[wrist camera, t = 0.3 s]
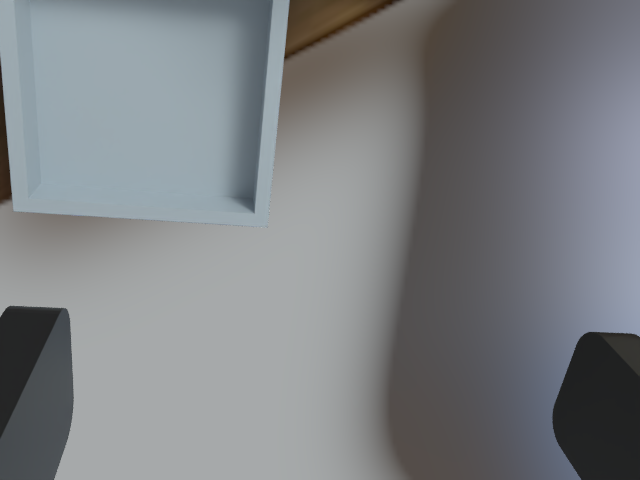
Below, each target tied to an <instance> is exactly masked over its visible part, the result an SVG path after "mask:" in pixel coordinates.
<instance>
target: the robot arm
mask: <svg viewBox="0 0 640 480" xmlns="http://www.w3.org/2000/svg"><path fill="white" fill-rule="evenodd" d="M73 398H74V397H73V373H72V353H71V332H70V318H69V314H68V311H67V309H66V308H46V307H24V306H9V307H7V308H6V310H5V311H4V312H3V314H2V315H1V317H0V480H54V478H55V475H56V472H57V469H58V466H59V463H60V460H61V457H62V454H63V451H64V448H65V445H66V442H67V439H68V435H69V431H70V426H71V420H72V413H73ZM553 429H554V433H555V437H556V440H557V442H558V444H559V446H560V447H561V449H562V450H563V452H564V454H565V455H566V457H567V458H568V460H569V461H570V463H571V464H572V466H573V467H574V469H575V470H576V472H577V474H578V475H579V477H580V478H581V480H640V337H639V336H637V335H635V334H628V333H626V334H625V333H604V332H588V333H586V334H584V335H583V336H582V337H581V338H580V339H579V341H578V343H577V345H576V348H575V350H574V353H573V356H572V359H571V361H570V364H569V367H568V369H567V372H566V375H565V378H564V380H563V383H562V386H561V388H560V391H559V394H558V397H557V399H556V402H555V405H554V409H553Z"/></svg>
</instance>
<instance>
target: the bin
mask: <svg viewBox="0 0 640 480" xmlns="http://www.w3.org/2000/svg"><path fill="white" fill-rule="evenodd" d="M289 1H290V0H0V57H1V69H2V81H3V93H4V105H5V117H6V129H7V141H8V153H9V165H10V177H11V189H12V200H13V211H15V212H32V213H48V214H62V215H79V216H94V217H95V216H96V217H110V218H126V219H141V220H157V221H173V222H188V223H205V224H220V225H236V226H251V227H268V217H269V206H270V196H271V186H272V175H273V166H274V154H275V144H276V135H277V124H278V114H279V104H280V92H281V83H282V73H283V72H282V71H283V63H284V52H285V42H286V32H287V21H288V11H289Z"/></svg>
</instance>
